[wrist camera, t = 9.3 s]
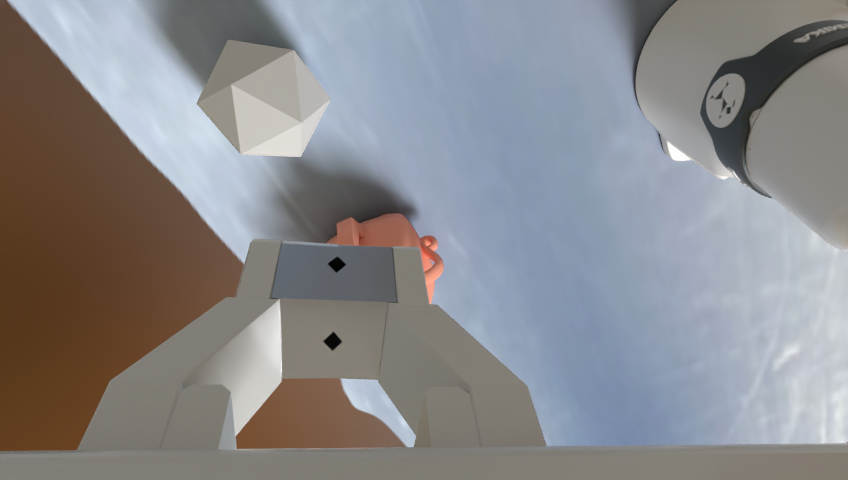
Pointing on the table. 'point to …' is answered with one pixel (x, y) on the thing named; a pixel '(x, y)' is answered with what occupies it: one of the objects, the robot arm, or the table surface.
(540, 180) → the table surface
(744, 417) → the table surface
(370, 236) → the teapot
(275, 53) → the die
